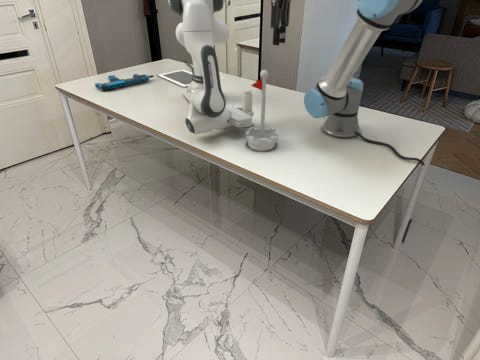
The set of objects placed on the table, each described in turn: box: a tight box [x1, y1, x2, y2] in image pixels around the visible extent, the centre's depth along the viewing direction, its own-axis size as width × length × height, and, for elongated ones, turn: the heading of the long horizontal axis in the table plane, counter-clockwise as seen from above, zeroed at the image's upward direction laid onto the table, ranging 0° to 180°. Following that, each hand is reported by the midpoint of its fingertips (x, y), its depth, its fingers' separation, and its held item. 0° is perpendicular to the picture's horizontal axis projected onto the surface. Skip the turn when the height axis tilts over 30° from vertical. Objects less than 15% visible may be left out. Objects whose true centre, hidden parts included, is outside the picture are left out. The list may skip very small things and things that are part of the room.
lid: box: [280, 31, 286, 39], centre depth 143 cm, size 5×5×2 cm
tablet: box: [156, 69, 193, 88], centre depth 216 cm, size 32×20×1 cm, turn 41°
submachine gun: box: [94, 73, 155, 91], centre depth 208 cm, size 34×4×25 cm
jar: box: [241, 88, 254, 128], centre depth 151 cm, size 4×4×16 cm
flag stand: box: [245, 69, 279, 152], centre depth 130 cm, size 13×13×30 cm
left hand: (248, 111), depth 152 cm, fingers closed on jar, 4 cm apart
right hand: (278, 43), depth 145 cm, fingers closed on lid, 5 cm apart
